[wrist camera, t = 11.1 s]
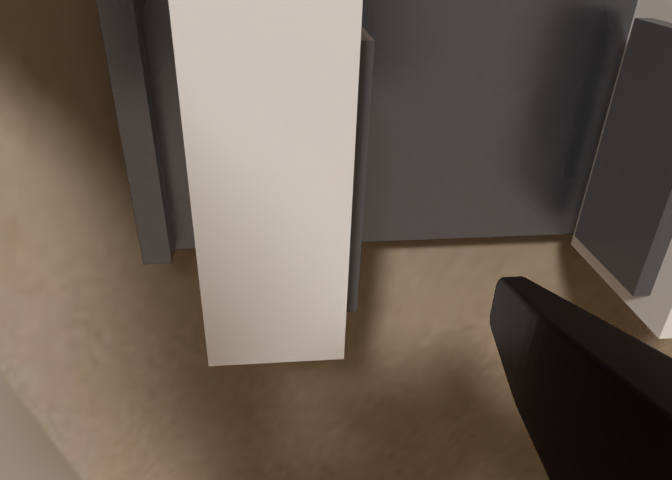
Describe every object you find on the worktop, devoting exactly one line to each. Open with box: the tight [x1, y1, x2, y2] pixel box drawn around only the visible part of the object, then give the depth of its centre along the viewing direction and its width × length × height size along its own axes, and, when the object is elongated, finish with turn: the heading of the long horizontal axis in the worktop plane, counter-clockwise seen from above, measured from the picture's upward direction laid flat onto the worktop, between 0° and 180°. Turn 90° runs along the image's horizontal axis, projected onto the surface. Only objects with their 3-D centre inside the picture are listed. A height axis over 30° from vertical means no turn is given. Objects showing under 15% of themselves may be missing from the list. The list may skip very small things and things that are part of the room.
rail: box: [96, 0, 638, 264], centre depth 20 cm, size 9×24×2 cm, turn 89°
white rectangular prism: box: [168, 0, 375, 366], centre depth 17 cm, size 4×10×6 cm, turn 178°
